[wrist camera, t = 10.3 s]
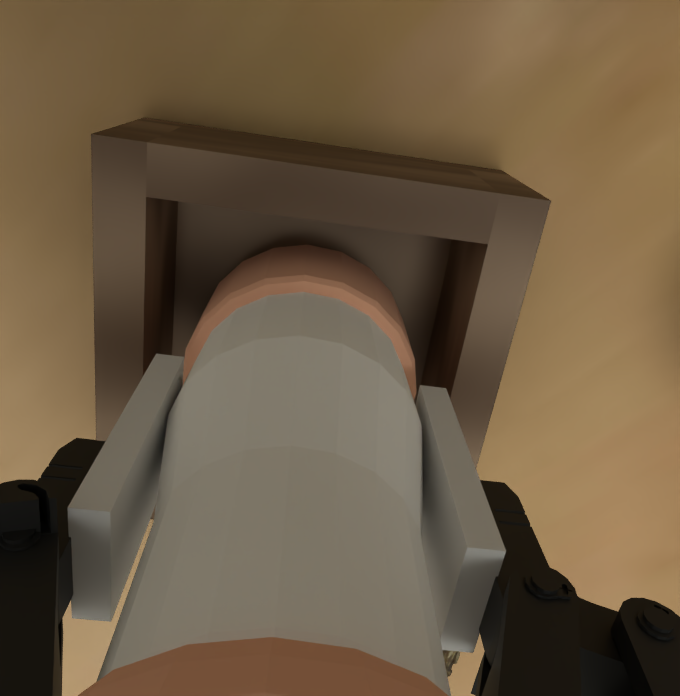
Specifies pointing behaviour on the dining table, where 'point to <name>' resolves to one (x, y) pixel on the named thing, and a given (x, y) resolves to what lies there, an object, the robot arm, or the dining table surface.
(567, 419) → the dining table surface
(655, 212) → the dining table surface
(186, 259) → the square wooden tray
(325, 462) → the pepper shaker
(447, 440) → the robot arm
